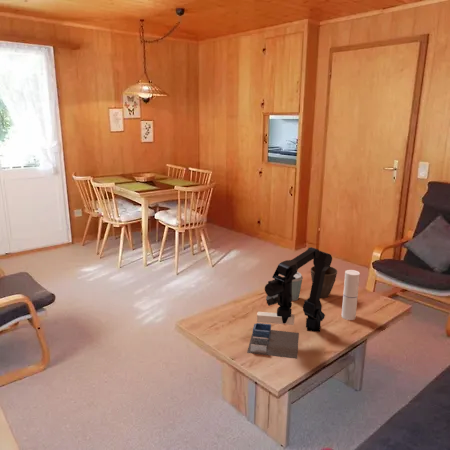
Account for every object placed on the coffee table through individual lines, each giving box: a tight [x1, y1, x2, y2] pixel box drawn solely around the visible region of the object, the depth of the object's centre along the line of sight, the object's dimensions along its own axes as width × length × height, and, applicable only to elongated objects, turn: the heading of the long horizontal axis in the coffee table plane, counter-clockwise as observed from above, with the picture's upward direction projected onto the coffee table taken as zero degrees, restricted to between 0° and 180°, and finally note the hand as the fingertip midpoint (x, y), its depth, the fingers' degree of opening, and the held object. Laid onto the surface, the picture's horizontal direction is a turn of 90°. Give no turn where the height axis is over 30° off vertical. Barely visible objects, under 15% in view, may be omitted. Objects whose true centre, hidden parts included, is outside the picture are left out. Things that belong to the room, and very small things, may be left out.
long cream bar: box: [256, 311, 296, 326], centre depth 189 cm, size 17×4×4 cm, turn 79°
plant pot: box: [310, 265, 338, 299], centre depth 239 cm, size 15×15×16 cm
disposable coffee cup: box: [283, 271, 304, 302], centre depth 235 cm, size 11×11×15 cm
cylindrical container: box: [340, 269, 361, 321], centre depth 213 cm, size 7×7×25 cm
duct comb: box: [246, 322, 300, 360], centre depth 190 cm, size 22×22×4 cm
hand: (284, 321), depth 189 cm, fingers closed on long cream bar, 3 cm apart
